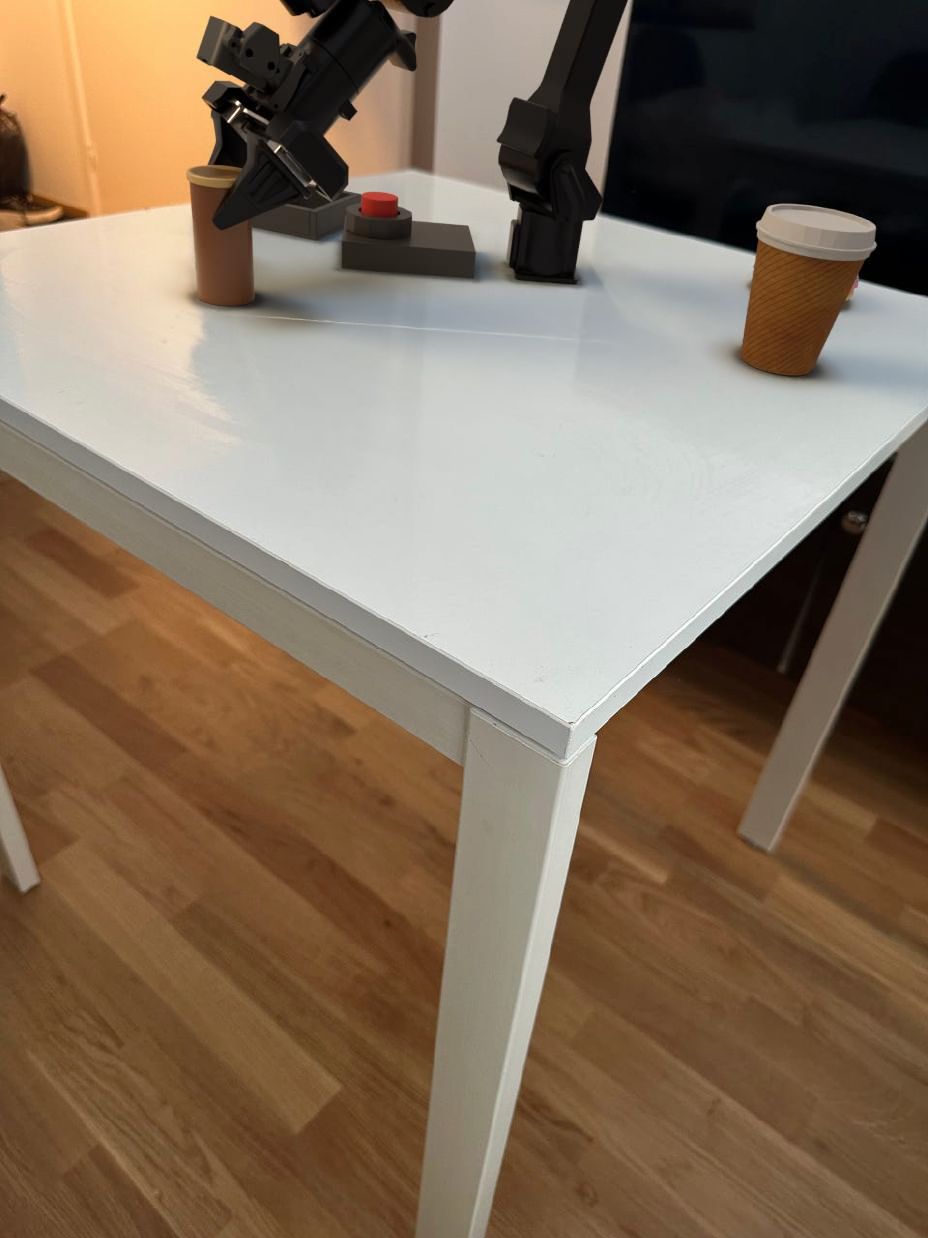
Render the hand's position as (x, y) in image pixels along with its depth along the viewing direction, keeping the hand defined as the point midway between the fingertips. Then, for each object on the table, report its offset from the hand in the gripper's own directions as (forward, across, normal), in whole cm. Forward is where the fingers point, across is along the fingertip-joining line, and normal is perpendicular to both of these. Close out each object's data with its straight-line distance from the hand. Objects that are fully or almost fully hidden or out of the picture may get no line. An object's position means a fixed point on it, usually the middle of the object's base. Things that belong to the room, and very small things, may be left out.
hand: (205, 217), depth 76 cm
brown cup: (+4, 0, +6) cm, 7 cm away
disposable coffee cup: (-24, +27, +34) cm, 50 cm away
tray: (-7, -22, +17) cm, 29 cm away
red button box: (-11, -7, +21) cm, 25 cm away
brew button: (-12, -8, +16) cm, 22 cm away
